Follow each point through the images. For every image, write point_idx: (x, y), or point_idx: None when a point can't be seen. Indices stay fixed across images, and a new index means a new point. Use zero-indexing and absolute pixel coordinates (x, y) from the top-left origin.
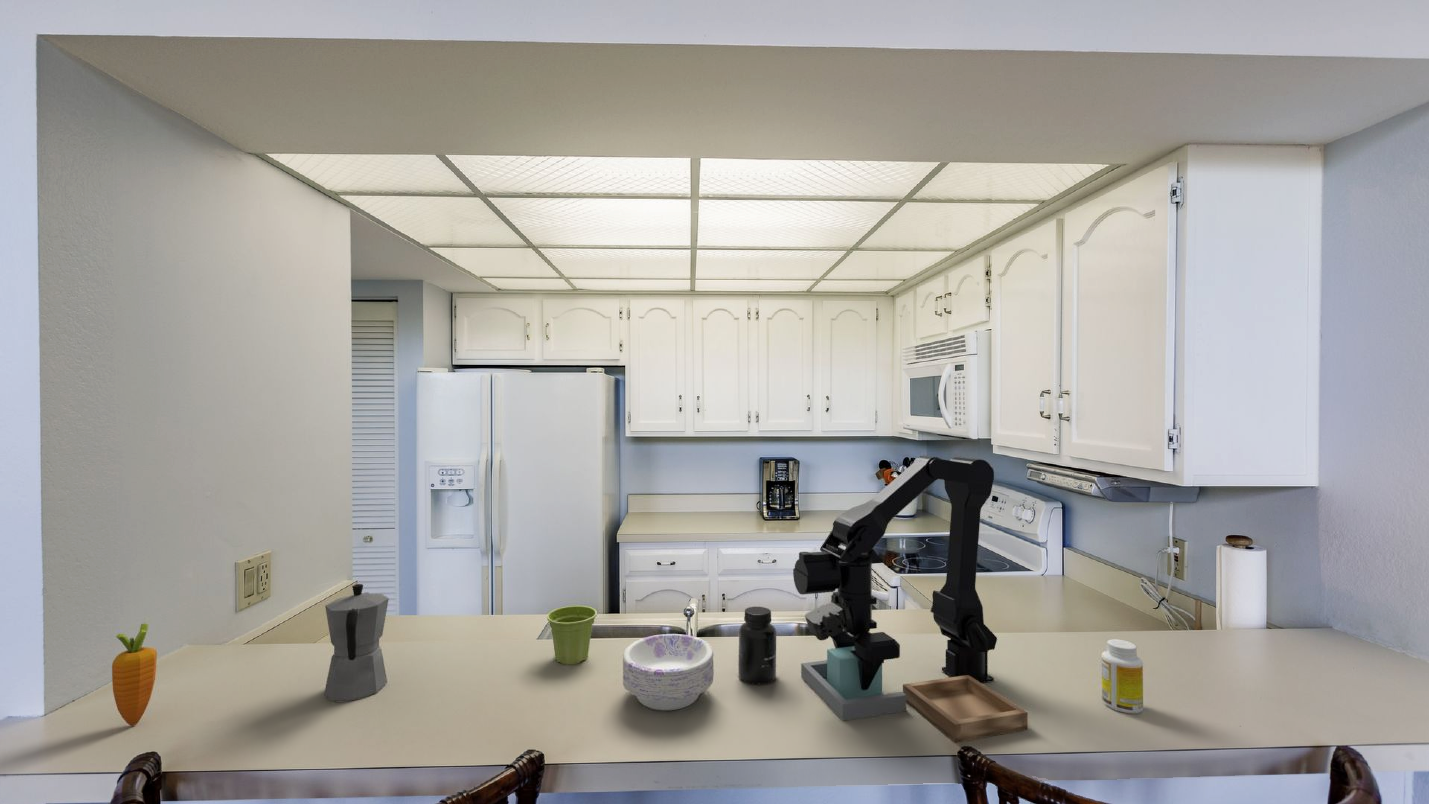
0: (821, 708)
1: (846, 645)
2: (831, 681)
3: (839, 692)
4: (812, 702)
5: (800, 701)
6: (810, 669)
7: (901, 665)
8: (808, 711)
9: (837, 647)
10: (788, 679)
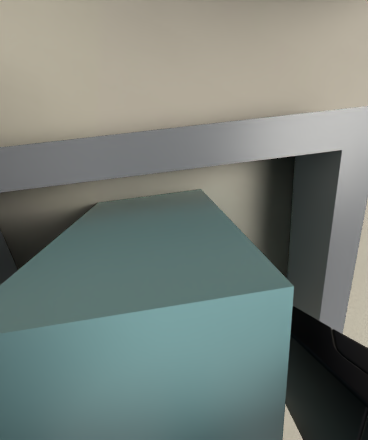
0: (43, 106)
1: (331, 438)
2: (165, 206)
3: (88, 213)
4: (100, 82)
5: (112, 19)
6: (297, 132)
7: (287, 420)
8: (9, 23)
9: (335, 374)
10: (329, 43)
